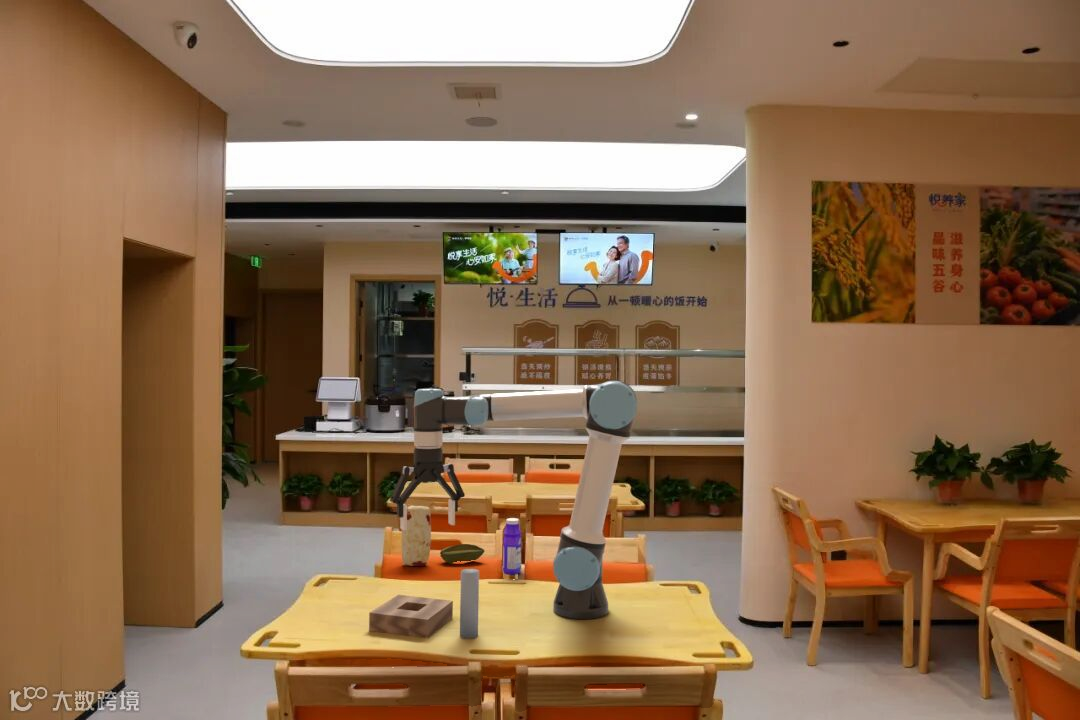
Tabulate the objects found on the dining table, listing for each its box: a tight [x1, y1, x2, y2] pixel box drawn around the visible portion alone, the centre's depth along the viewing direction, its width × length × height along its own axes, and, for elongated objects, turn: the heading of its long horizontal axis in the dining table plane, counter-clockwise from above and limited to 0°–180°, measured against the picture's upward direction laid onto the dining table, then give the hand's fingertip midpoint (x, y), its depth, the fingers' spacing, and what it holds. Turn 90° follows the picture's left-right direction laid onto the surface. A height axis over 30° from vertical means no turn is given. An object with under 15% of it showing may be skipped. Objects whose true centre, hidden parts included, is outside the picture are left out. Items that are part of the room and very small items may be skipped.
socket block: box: [368, 594, 454, 639], centre depth 202 cm, size 16×16×4 cm
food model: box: [401, 505, 432, 567], centre depth 260 cm, size 10×7×20 cm
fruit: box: [439, 543, 485, 565], centre depth 264 cm, size 11×12×7 cm
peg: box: [459, 568, 480, 640], centre depth 195 cm, size 4×4×16 cm
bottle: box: [502, 517, 522, 576], centre depth 253 cm, size 7×6×17 cm
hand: (427, 527), depth 207 cm, fingers open, 13 cm apart
